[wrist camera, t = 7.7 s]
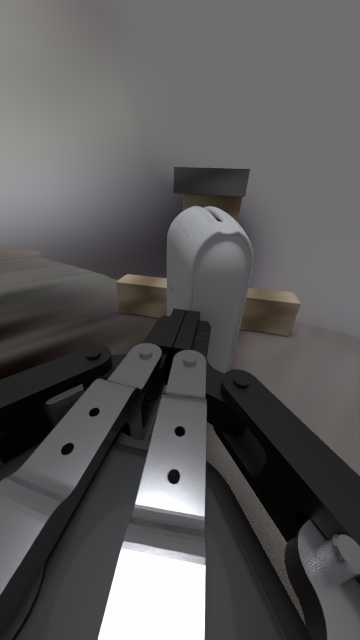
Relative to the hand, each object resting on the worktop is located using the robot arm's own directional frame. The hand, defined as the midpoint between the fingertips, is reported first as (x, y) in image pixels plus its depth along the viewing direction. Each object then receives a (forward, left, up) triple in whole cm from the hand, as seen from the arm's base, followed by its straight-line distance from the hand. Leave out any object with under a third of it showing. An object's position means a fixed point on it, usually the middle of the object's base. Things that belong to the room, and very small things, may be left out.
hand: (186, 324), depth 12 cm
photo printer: (0, +5, -7) cm, 9 cm away
